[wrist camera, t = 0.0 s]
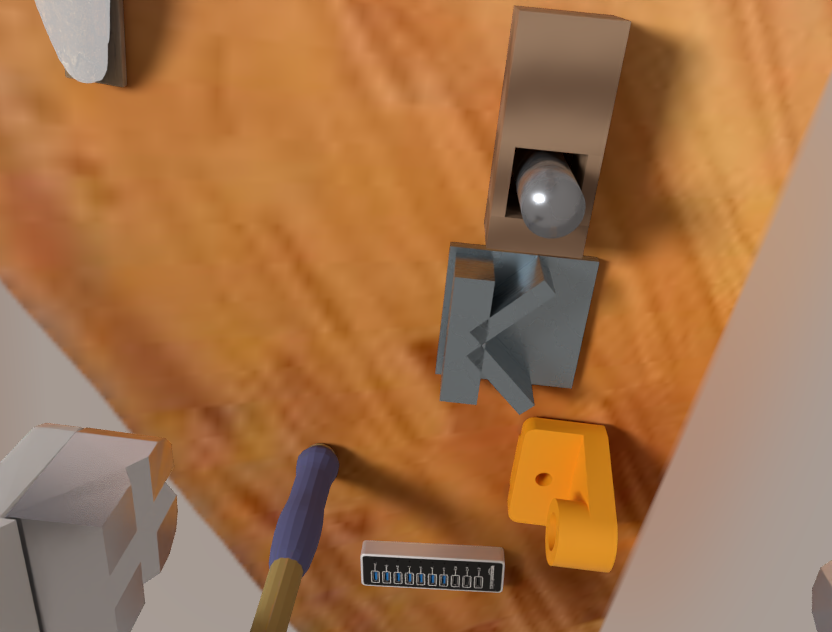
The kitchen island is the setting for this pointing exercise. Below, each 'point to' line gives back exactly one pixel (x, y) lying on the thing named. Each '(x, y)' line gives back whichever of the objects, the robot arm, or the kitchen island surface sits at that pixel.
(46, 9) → the figurine
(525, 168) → the steel axle
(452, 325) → the V-block
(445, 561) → the multiport hub
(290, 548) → the rubber mallet
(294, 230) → the kitchen island surface
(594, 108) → the walnut beam
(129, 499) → the robot arm
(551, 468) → the bracket
